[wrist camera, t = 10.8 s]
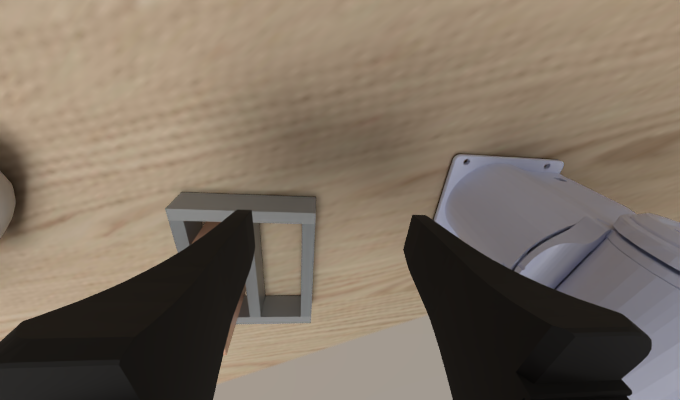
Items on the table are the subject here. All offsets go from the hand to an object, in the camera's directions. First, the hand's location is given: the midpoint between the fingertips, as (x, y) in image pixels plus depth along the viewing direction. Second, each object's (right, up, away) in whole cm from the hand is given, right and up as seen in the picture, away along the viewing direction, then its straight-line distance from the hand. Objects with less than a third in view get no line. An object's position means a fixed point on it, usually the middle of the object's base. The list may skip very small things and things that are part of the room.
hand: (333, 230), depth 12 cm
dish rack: (-7, -4, +12) cm, 15 cm away
